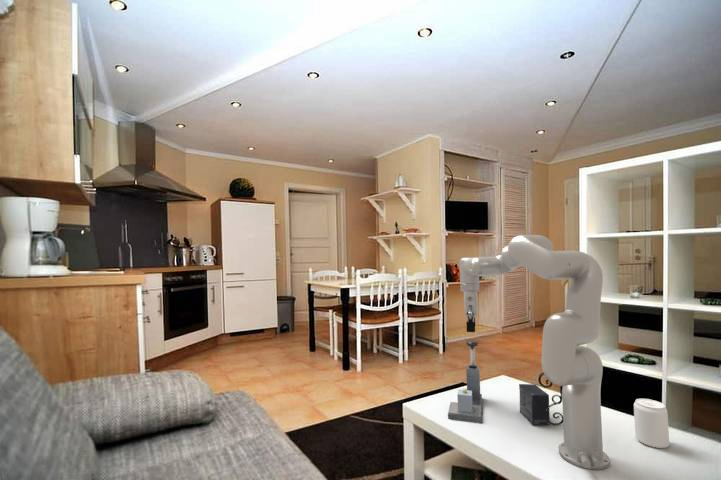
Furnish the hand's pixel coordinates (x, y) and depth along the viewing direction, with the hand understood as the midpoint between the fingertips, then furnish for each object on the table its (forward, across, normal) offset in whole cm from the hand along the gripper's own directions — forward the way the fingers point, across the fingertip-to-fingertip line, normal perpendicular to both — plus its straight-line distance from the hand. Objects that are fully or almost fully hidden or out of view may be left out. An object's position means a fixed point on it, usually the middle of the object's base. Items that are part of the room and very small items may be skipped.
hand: (471, 329), depth 143 cm
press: (+28, -8, +2) cm, 30 cm away
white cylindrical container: (+28, -18, -53) cm, 63 cm away
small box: (+29, -11, -21) cm, 37 cm away
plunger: (+18, +1, 0) cm, 19 cm away
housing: (+26, -14, +3) cm, 30 cm away
